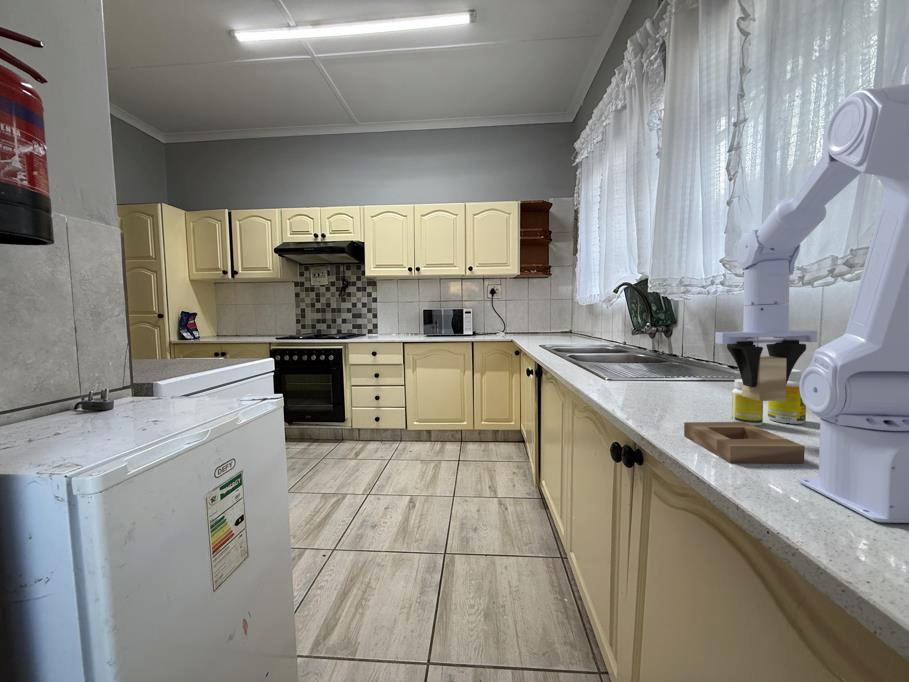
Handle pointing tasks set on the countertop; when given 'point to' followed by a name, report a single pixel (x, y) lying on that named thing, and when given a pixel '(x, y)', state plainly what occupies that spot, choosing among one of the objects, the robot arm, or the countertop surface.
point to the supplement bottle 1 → (745, 407)
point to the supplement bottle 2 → (789, 403)
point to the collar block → (743, 443)
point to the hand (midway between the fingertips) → (764, 385)
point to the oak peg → (768, 380)
